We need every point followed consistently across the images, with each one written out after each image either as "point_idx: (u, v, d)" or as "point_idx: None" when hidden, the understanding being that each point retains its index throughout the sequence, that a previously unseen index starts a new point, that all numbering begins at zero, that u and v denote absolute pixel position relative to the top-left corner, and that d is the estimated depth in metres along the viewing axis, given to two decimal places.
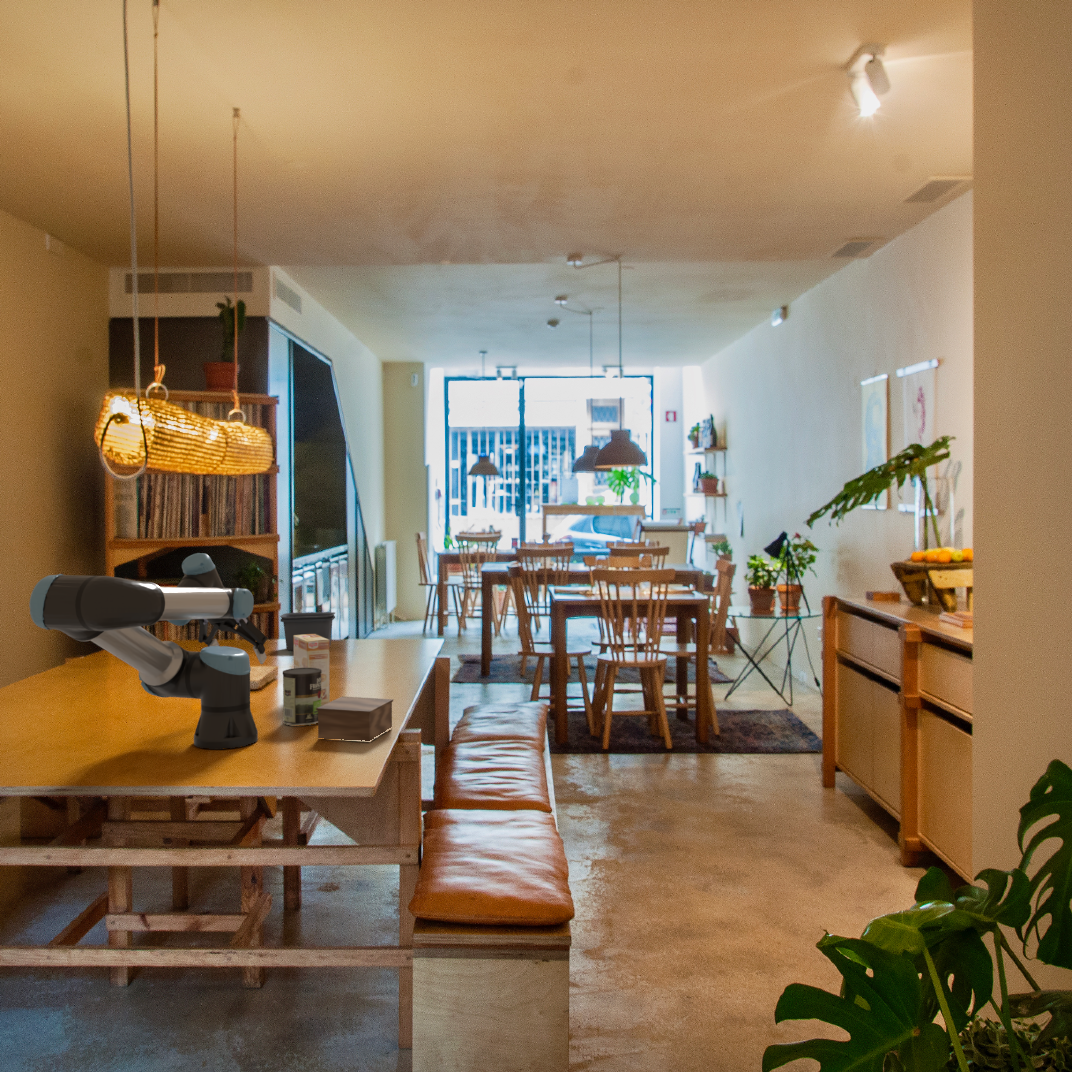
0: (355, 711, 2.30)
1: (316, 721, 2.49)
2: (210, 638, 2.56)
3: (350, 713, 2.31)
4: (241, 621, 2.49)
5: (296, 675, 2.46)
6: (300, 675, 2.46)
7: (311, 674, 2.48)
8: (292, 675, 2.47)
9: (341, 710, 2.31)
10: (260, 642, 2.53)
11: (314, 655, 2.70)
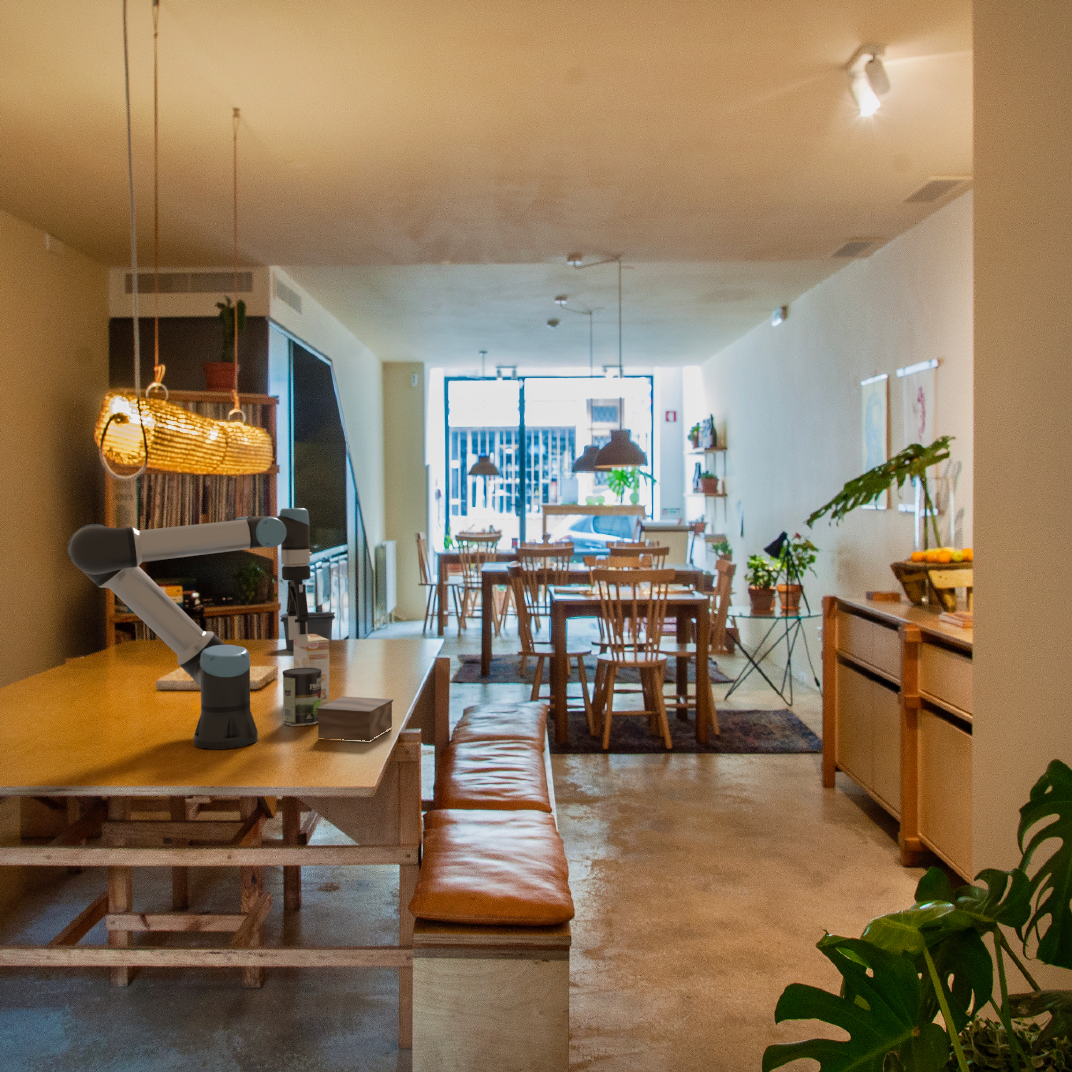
0: (355, 711, 2.30)
1: (316, 721, 2.49)
2: (289, 607, 2.56)
3: (350, 713, 2.31)
4: (296, 586, 2.45)
5: (296, 675, 2.46)
6: (300, 675, 2.46)
7: (311, 674, 2.48)
8: (292, 675, 2.47)
9: (341, 710, 2.31)
10: (298, 616, 2.42)
11: (314, 655, 2.70)
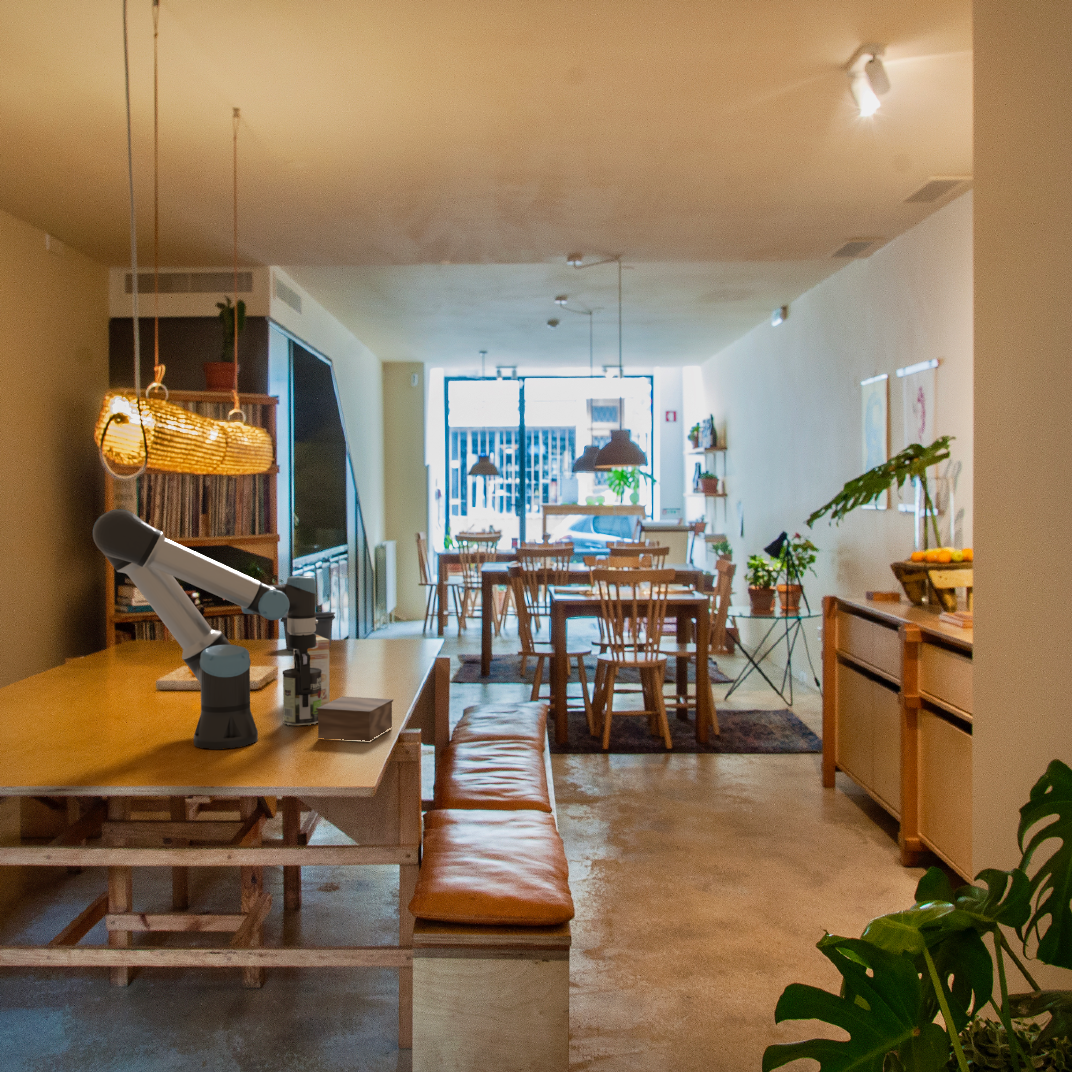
0: (355, 711, 2.30)
1: (316, 721, 2.49)
2: None
3: (350, 713, 2.31)
4: (300, 658, 2.45)
5: (296, 675, 2.46)
6: None
7: (311, 674, 2.48)
8: (292, 675, 2.47)
9: (341, 710, 2.31)
10: (301, 689, 2.44)
11: (314, 655, 2.70)
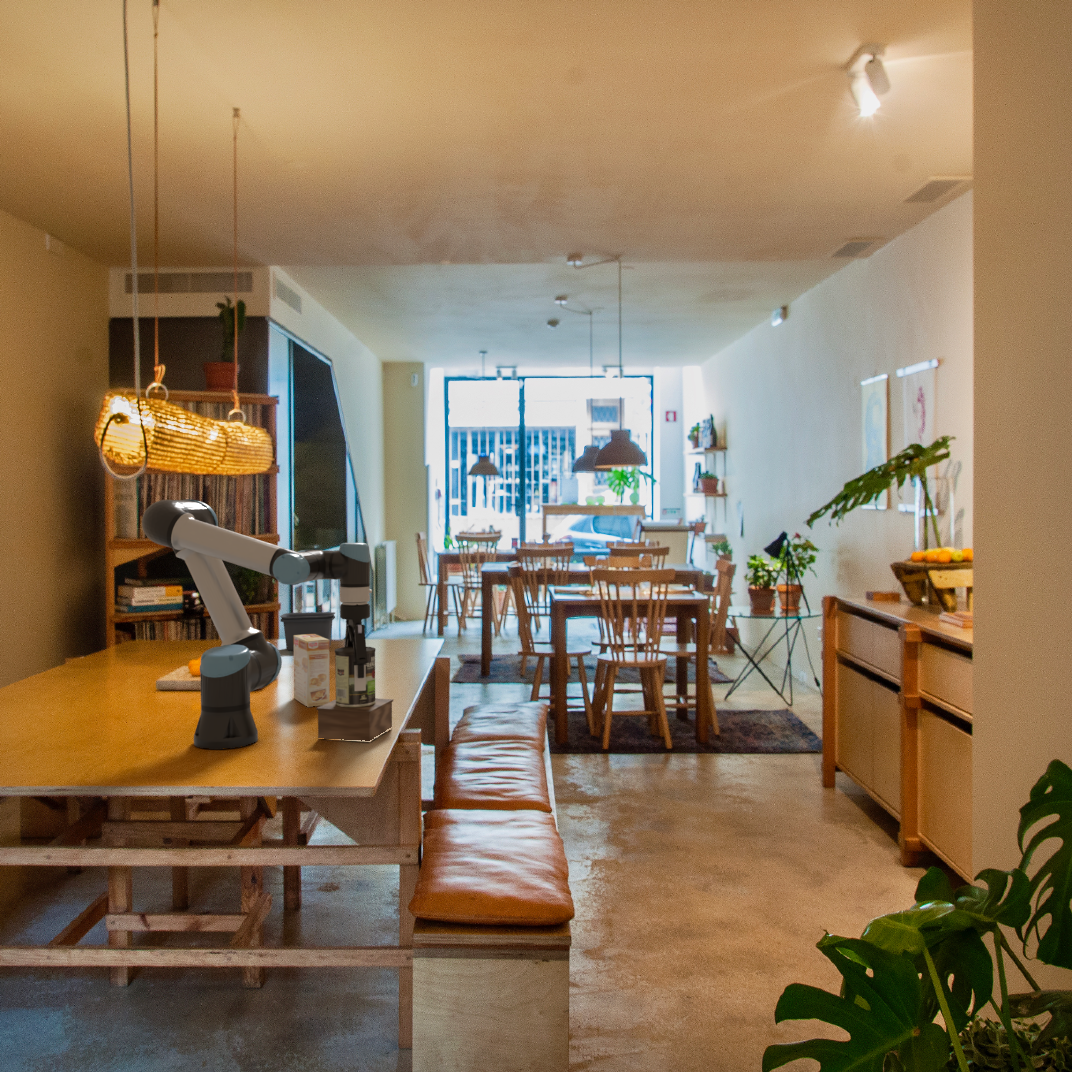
0: (355, 711, 2.30)
1: (370, 702, 2.36)
2: None
3: (350, 713, 2.31)
4: (354, 626, 2.31)
5: (350, 653, 2.33)
6: None
7: None
8: (345, 653, 2.33)
9: (341, 710, 2.31)
10: (356, 659, 2.28)
11: (314, 655, 2.70)
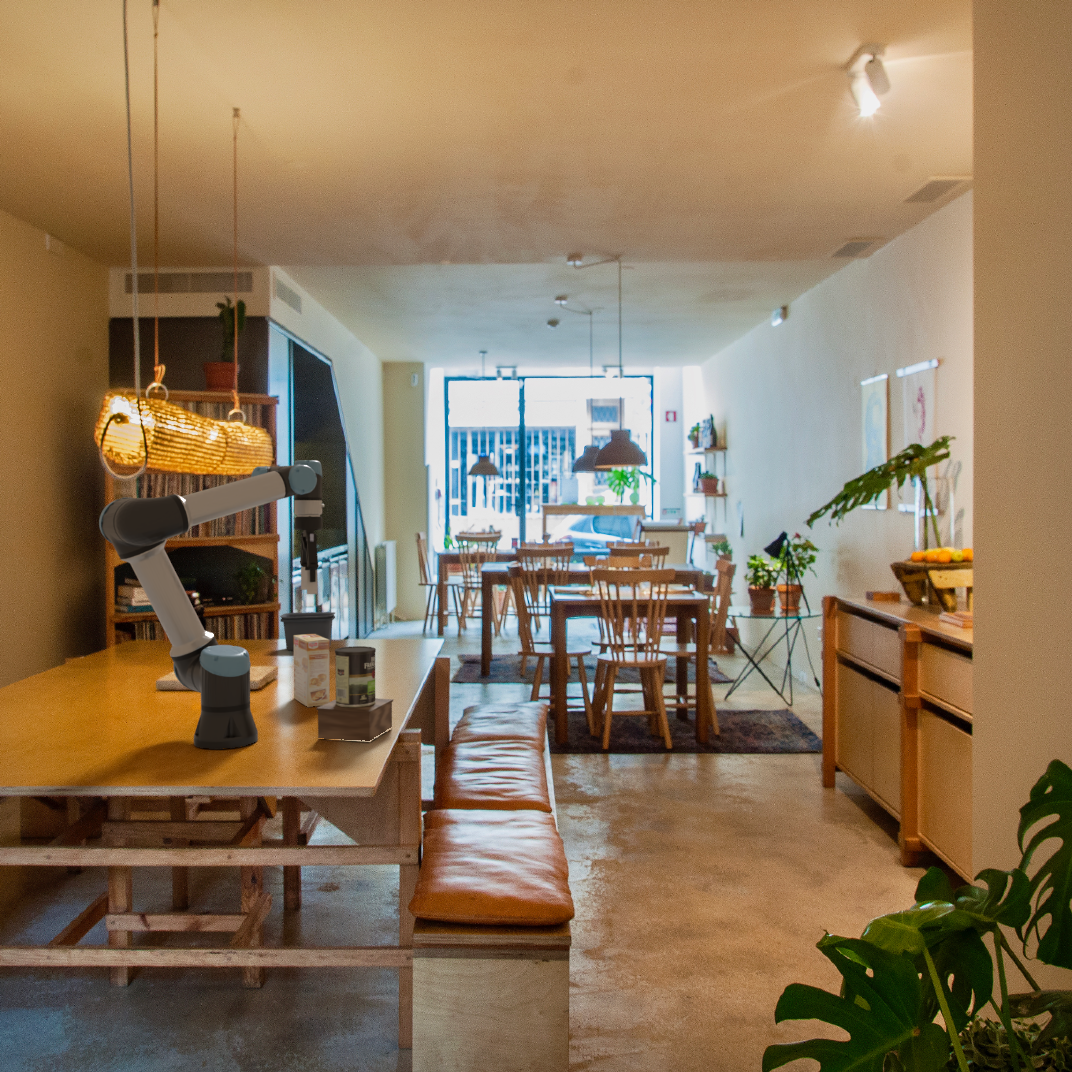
0: (355, 711, 2.30)
1: (370, 702, 2.36)
2: (301, 558, 2.64)
3: (350, 713, 2.31)
4: (307, 535, 2.52)
5: (350, 653, 2.33)
6: (354, 653, 2.33)
7: (365, 652, 2.34)
8: (346, 653, 2.33)
9: (341, 710, 2.31)
10: (308, 563, 2.49)
11: (314, 655, 2.70)
